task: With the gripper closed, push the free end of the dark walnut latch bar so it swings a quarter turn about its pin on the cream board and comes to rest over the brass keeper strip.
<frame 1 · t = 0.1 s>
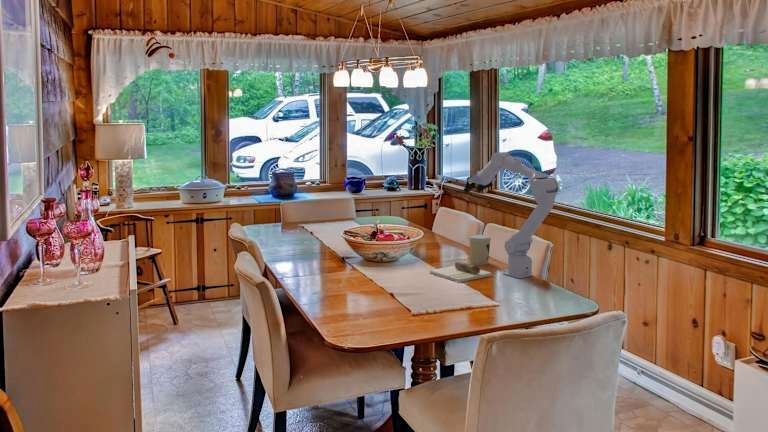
hand: (471, 190, 298), 32 cm above the table, tool tilted 50°, fingers open, 7 cm apart
latch board: (460, 274, 282), on the table
latch bar: (467, 267, 282), point 3 cm above the table, hinge at 0.0°
coffee cup: (479, 263, 302), on the table
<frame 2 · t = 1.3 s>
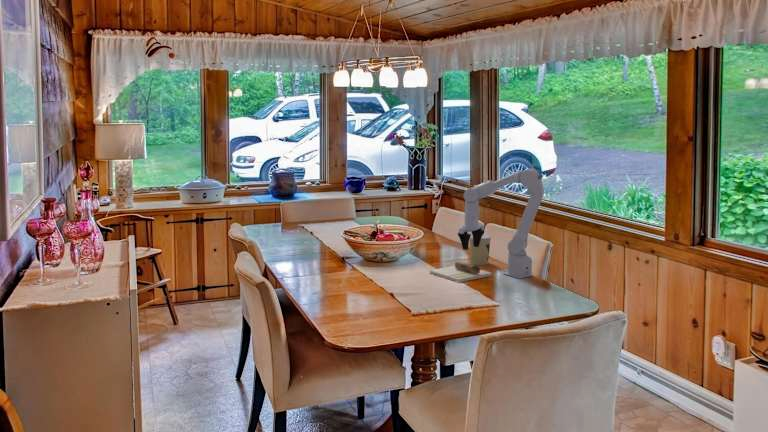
hand: (470, 248, 288), 9 cm above the table, tool pointing down, fingers open, 7 cm apart
nothing on the table moved.
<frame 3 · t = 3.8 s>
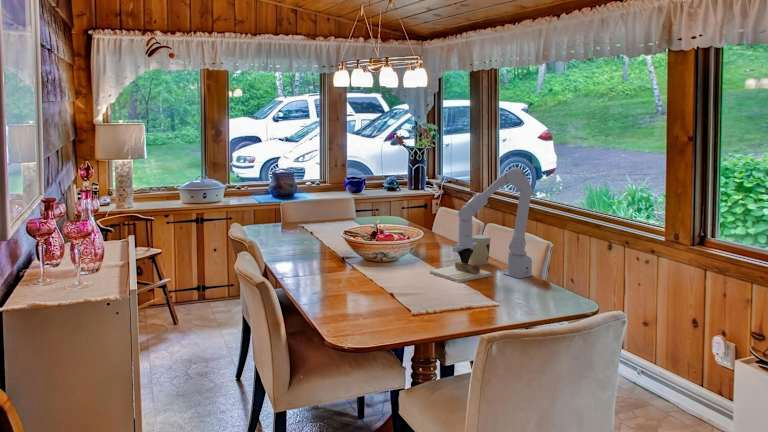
hand: (464, 266, 286), 2 cm above the table, tool pointing down, fingers closed, pressing on latch bar
latch bar: (467, 267, 282), point 3 cm above the table, hinge at 0.0°, touching gripper
everything else where it was.
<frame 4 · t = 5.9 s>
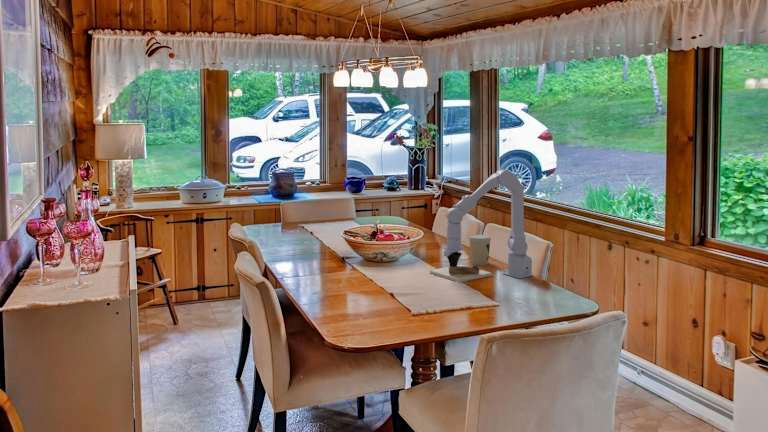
hand: (453, 269, 280), 2 cm above the table, tool pointing down, fingers closed, pressing on latch bar
latch bar: (463, 269, 278), point 3 cm above the table, hinge at 55.7°, touching gripper
everything else where it was.
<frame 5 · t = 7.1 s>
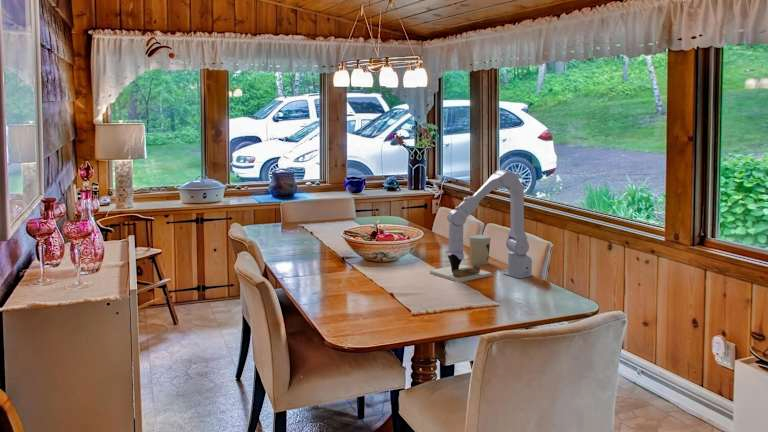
hand: (454, 272, 275), 2 cm above the table, tool pointing down, fingers closed, pressing on latch bar
latch bar: (466, 270, 275), point 3 cm above the table, hinge at 88.2°, touching gripper
everything else where it was.
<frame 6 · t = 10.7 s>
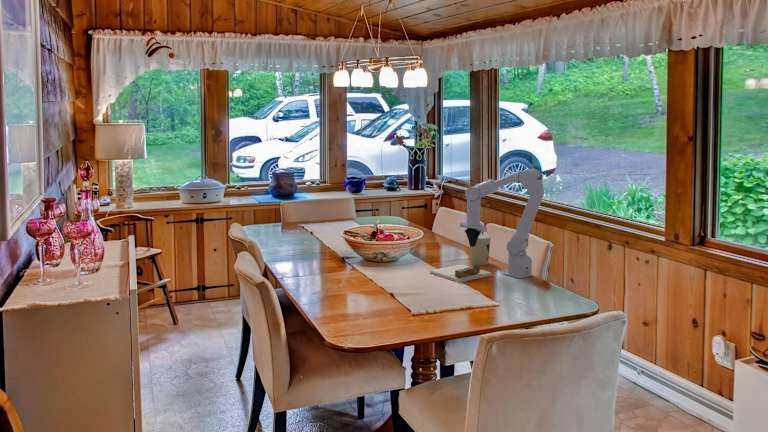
hand: (472, 246, 289), 10 cm above the table, tool pointing down, fingers closed
latch bar: (467, 271, 275), point 3 cm above the table, hinge at 95.6°
everything else where it was.
at the end: latch bar at +96° (first picture: +0°) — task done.
